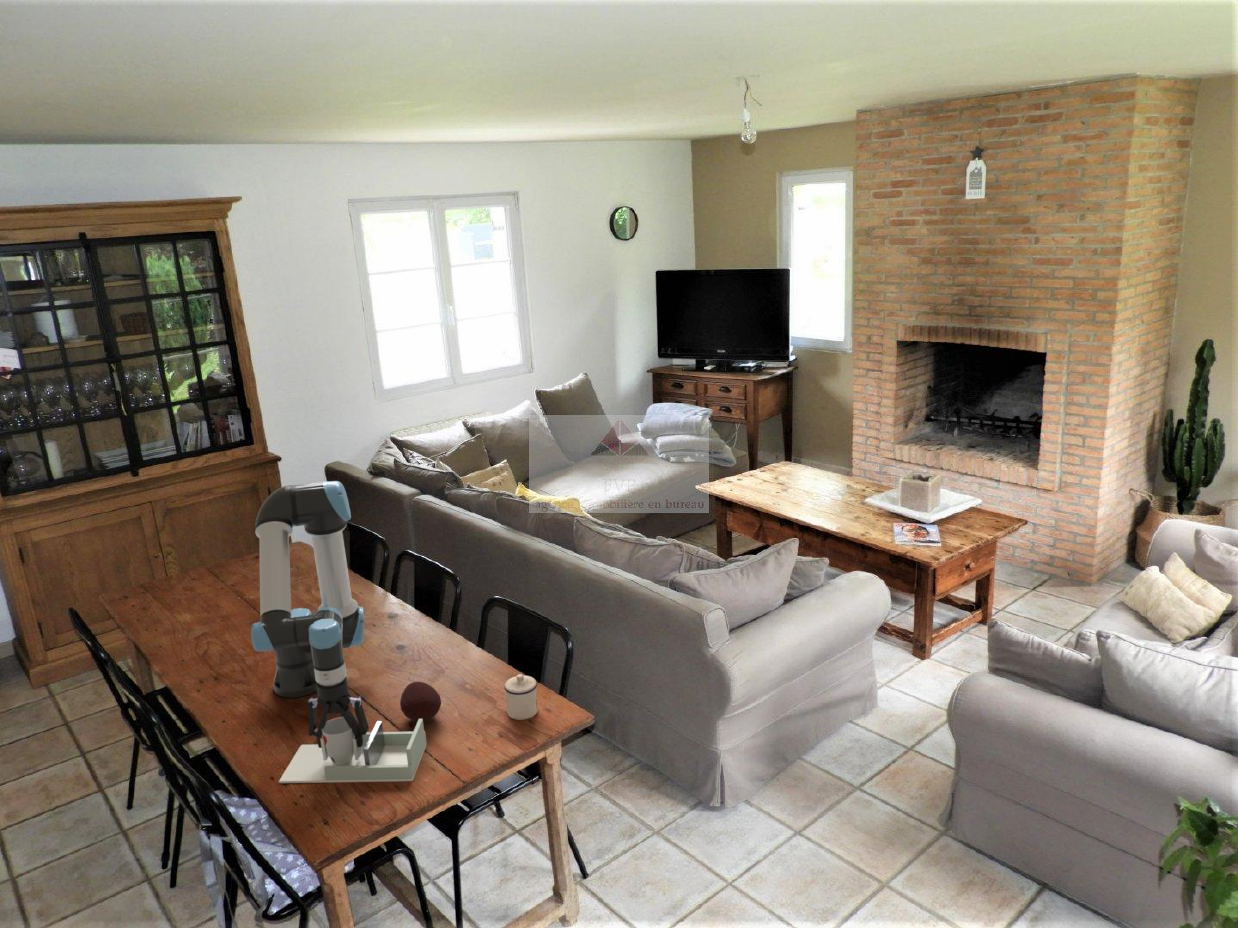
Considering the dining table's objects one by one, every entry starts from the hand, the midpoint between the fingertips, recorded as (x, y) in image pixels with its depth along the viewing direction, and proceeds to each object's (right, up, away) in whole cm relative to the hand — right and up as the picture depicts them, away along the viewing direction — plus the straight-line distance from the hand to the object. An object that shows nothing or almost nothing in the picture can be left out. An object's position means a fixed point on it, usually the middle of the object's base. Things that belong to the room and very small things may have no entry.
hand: (342, 757), depth 234 cm
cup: (0, -1, 0) cm, 1 cm away
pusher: (+9, -1, 0) cm, 9 cm away
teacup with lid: (+44, +6, +22) cm, 49 cm away
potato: (+17, +4, +19) cm, 26 cm away
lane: (+3, -2, +1) cm, 4 cm away
